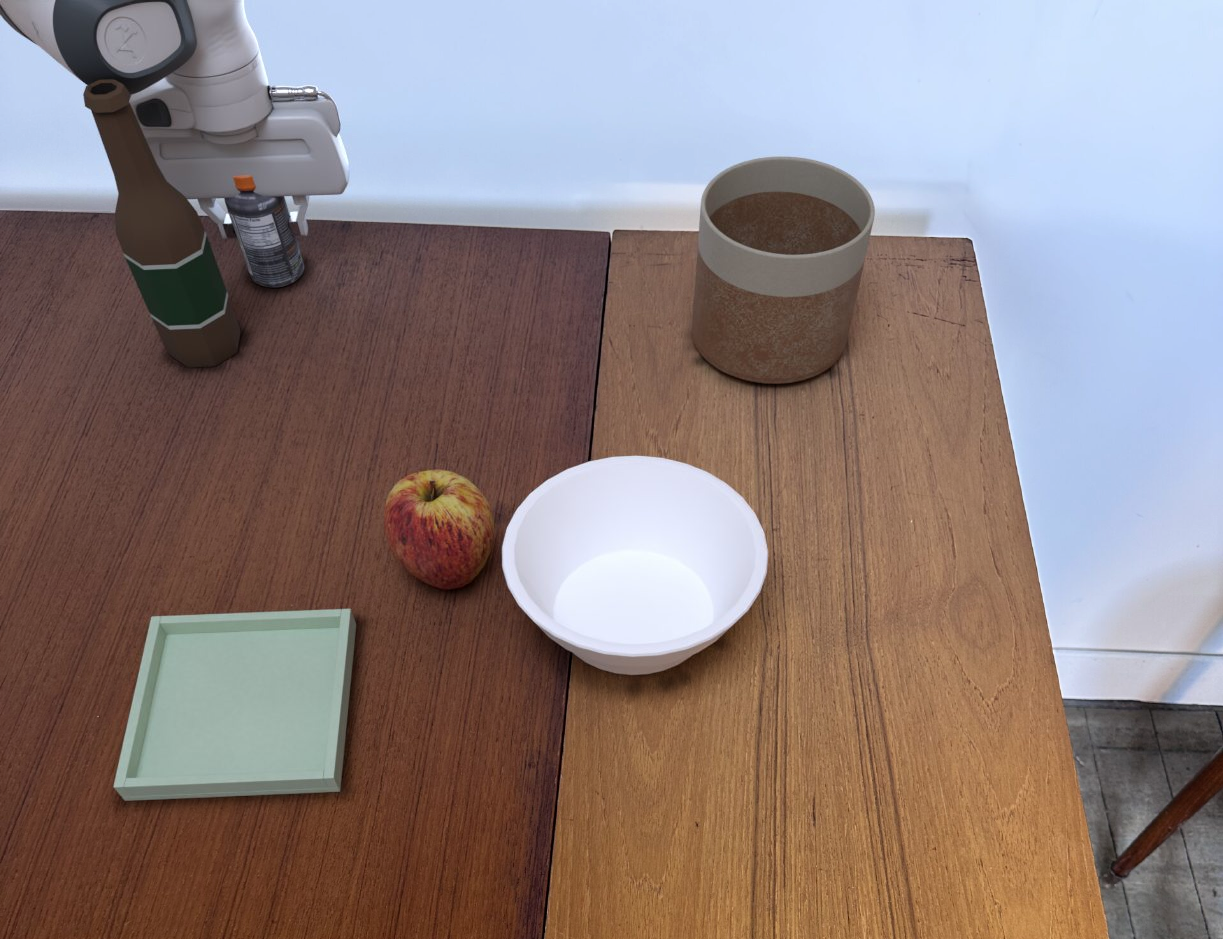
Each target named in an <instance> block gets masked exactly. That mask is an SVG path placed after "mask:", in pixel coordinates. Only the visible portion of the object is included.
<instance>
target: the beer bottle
mask: <svg viewBox="0 0 1223 939" xmlns="http://www.w3.org/2000/svg"><path fill="white" fill-rule="evenodd" d="M82 96H83V102H84V107H85V108H87V109H88V110H90V111H91V114H92V117H93V120H94V123H95V125H96V128H97V131H98V135H99V136H100V140H101V142H102V145H103V148H104V151H105V153H106V154H105V155H106V157H107V159H108V162H109V165H110V168H111V171H112V173H113V176H114V181H115V186H116V189H117V194H118V195H117V200H116V205H115V211H114V223H115V224H114V226H115V234H116V237H117V240H118V243H119V246H120V249H121V251H122V254H123V256H124V258H125V261H126V263H127V265H128V268H129V270H130V272H131V275H132V276H133V280H134V282H135V283H136V286H137V288H138V290H139V292H140V295H141V297H142V299H143V302H144V304H145V306H146V308H147V311H148V313H149V315H150V318H151V320H152V322H153V324H154V326H155V329H156V332H157V334H158V336H159V338H160V340H161V342H162V344H163V346H164V348H165V349H166V351H167V354H169V355H170V356H171V357H172V358H174V359H175V360H176V361H178V362H179V363H180V364H182V365H184V366H185V368H188V369H191V368H212V367H217V366H219V365H221V364H222V363H224V362H225V361H227V360H228V359H230V358H232V357H233V356H235V355H236V354H238V350H239V344H240V338H241V334H242V332H241V329H240V328H241V327H240V325H239V321H238V319H237V315H236V312H235V310H234V306H233V304H232V301H231V298H230V295H229V293H228V290H227V288H226V285H225V281H224V279H223V277H222V276H223V275H222V274H221V270H220V267H219V265H218V262H217V259H216V256H215V254H214V251H213V249H212V245H211V243H210V240H209V237H208V234H207V232H206V228H205V227H204V225H203V223H202V220H201V218H200V215H199V214H198V211H197V210H196V209H195V208H194V206H193V205H192V203H191V202H190V201H189V199H187V198H186V197H185V196H184V195H183V194H182V193H180V192H179V191H178V190H177V189H176V188H174V187H173V186H172V185H171V184H169V183H168V182H167V181H166V179H165V177H164V175H163V174H162V172H161V170H160V169H159V167H158V165H157V163H156V161H155V159H154V156H153V154H152V152H151V150H150V147H149V145H148V143H147V141H146V138H145V136H144V134H143V132H142V129H141V127H140V125H139V123H138V120H137V118H136V116H135V114H134V111H133V109H132V107H131V105H130V102H129V100H130V97H131V95H130V93H129V92H128V90H127V89H126V87H125V86H124V85H123V84H122V83H120V82H118V81H117V80H115V79H107V80H98V81H96V82H94V83H91V84H89V85H86V86H85V87H84V91H83V94H82Z"/></svg>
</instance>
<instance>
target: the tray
mask: <svg viewBox="0 0 1223 939" xmlns="http://www.w3.org/2000/svg"><path fill="white" fill-rule="evenodd" d="M356 629H357V623H356V619H355V617H354V614H353V610H352V609H351V608H337V609H336V608H332V609H331V608H330V609H329V608H328V609H306V610H304V609H303V610H282V611H281V610H280V611H279V610H278V611H258V612H257V611H256V612H254V611H253V612H231V613H229V612H227V613H211V614H210V613H204V614H180V615H179V614H177V615H154V616H153V615H152V616H151V617H150V621H149V624H148V629H147V634H146V639H145V643H144V646H143V647H144V648H143V653H142V656H141V661H140V665H139V670H138V675H137V679H136V684H135V688H134V692H133V697H132V701H131V707H130V711H129V714H128V719H127V724H126V728H125V733H124V737H123V742H122V746H121V750H120V755H119V760H118V765H117V769H116V774H115V778H114V781H113V782H114V783H113V789H114V790H115V791H116V792H117V793H118V795H119V796H120V797H121V798H122V799H123V801H124V802H129V801H153V800H173V799H174V800H175V799H176V800H177V799H178V800H179V799H199V798H200V799H201V798H222V797H223V798H224V797H226V798H227V797H246V796H269V795H270V796H273V795H291V794H292V795H293V794H294V795H295V794H296V795H297V794H316V793H317V794H319V793H320V794H321V793H340V792H341V786H342V776H343V766H344V756H345V745H346V737H347V725H348V716H349V715H348V714H349V707H350V706H349V705H350V694H351V683H352V674H353V663H354V654H355V653H354V652H355V642H356V633H357V630H356Z"/></svg>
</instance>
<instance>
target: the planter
mask: <svg viewBox="0 0 1223 939" xmlns="http://www.w3.org/2000/svg"><path fill="white" fill-rule="evenodd" d="M874 203H875V202H874V200H873V198H872V196H871V194H870V193H869V191H868V189H867V188H866V187H865V186H864V185H863V184H862V183H861V182H860V181H859V180H858V179H857V178H855V176H852V175H851V174H850V173H848V172H846V171H845V170H842V169H840V168H838V167H836V166H835V165H831V164H829V163H825V162H823V161H819V160H816V159H812V158H811V159H810V158H805V157H797V156H765V157H758V158H754V159H749V160H746V161H745V160H744V161H742V162H739V163H737V164H733V165H732V166H729V167H727V168H725V169H724V170H722V171H721V172H719V173H718V174H717V175H715V176H714V177H713V178H712V179H711V180H710V181H709V182H708V184H707V185H706V186H705V188H704V190H703V193H702V195H701V199H700V208H699V209H700V211H699V212H700V213H699V224H698V237H697V239H698V240H697V252H696V266H695V267H696V268H695V278H694V279H695V280H694V291H693V292H694V293H693V307H692V318H691V320H692V321H691V336H692V339H693V343H694V345H695V347H696V349H697V350H698V352H699V353H700V355H701V356H702V357H703V358H704V360H706V361H707V363H709V364H710V365H712V366H713V367H714V368H716V369H717V370H719V371H720V372H723V373H725V374H727V375H729V376H732V377H734V378H737V379H740V380H742V381H743V380H744V381H748V382H753V383H757V384H766V385H767V384H769V385H779V384H780V385H781V384H782V385H783V384H791V383H795V382H796V383H797V382H801V381H805V380H809V379H811V378H813V377H816V376H818V375H820V374H822V373H824V372H825V371H827V370H829V369H830V368H831V367H832V366H834V365H835V364H836V362H838V360H839V359H840V358H841V356H842V355H843V353H844V351H845V349H846V346H847V342H848V337H849V332H850V328H851V324H852V320H853V315H854V311H855V306H856V303H857V302H856V301H857V298H858V297H857V296H858V293H859V288H860V284H861V279H862V274H863V270H864V265H865V262H866V256H867V252H868V248H869V243H870V239H871V235H872V230H873V224H874V220H875V215H876V211H875V210H876V209H875V204H874Z"/></svg>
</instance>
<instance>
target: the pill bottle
mask: <svg viewBox="0 0 1223 939" xmlns="http://www.w3.org/2000/svg"><path fill="white" fill-rule="evenodd" d="M233 179H234V182H235V187H236V188H237V190H238V191H240V193H239V194H238V195H236V196H235V197H232V198H223V201H224V204H225V206H226V207H225V208H226V209H227V214H229V216H230V219H231V222H232V225H233V228H234V230H235V233H236V236H237V238H236V240H237V242H238V245H239V248H240V250H241V253H242V256H243V259H244V262H245V265H246V268H247V271H248V274H249V277H250V278H251V280H252V281H253V282H254V283H255V284H257V285H259V286H262V287H264V288H265V287H266V288H282V287H285V286H289V285H290V284H293V283H294V282H296V281H298V279H300V278H301V276H302V275H303V274H304V271H305V264H304V259H303V254H302V252H301V248H300V245H299V242H298V238H297V236H292V233H291V230H292V229H291V228H290V226H289V223H288V220H289V218H290V216H289V214H290V211H289V208H288V204H287V201H286V196H279V197H269V196H262V195H259V194H257V193H255V192H253V191H254V190H255V188H256V185H255V184H254V181H253V177H252V176H251V175H240V176H233Z"/></svg>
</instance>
